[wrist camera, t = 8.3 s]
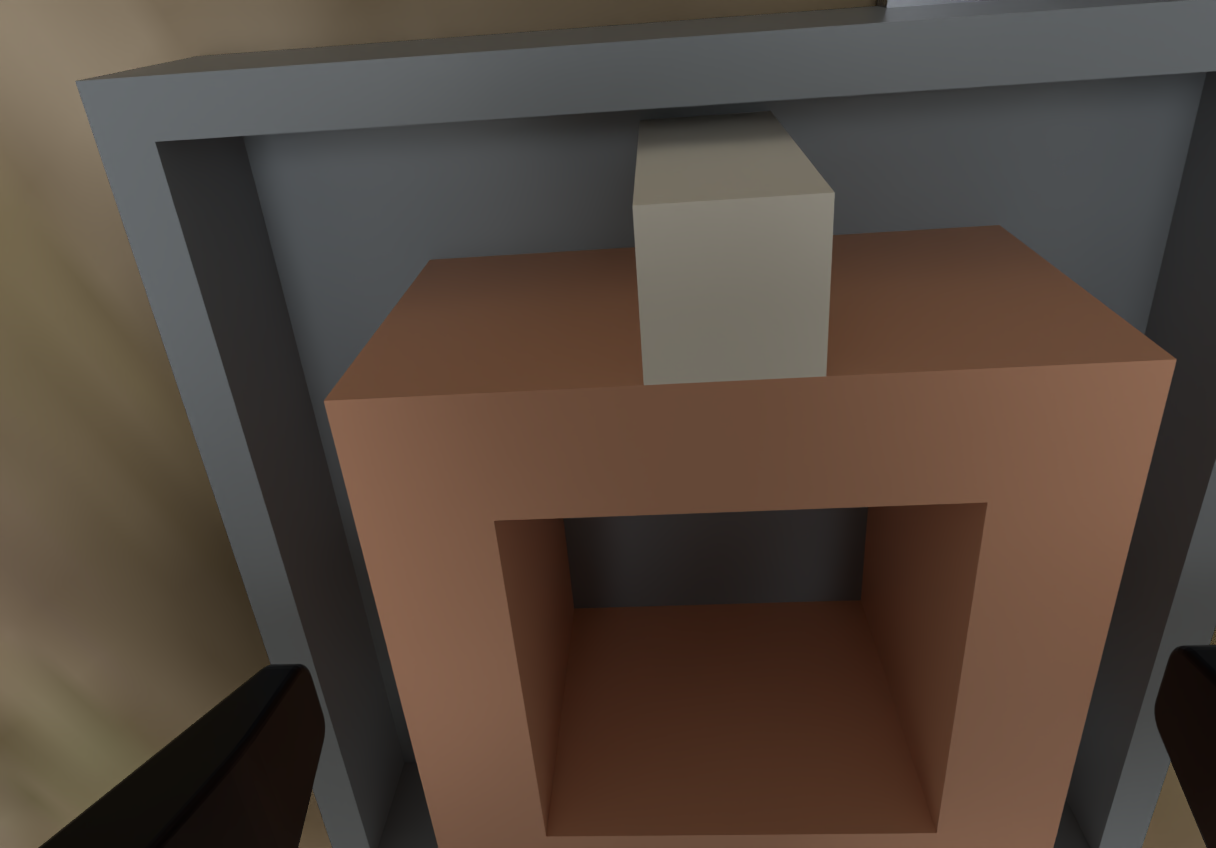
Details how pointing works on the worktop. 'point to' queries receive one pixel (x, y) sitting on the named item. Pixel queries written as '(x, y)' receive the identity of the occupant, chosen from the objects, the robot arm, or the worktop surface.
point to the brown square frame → (749, 481)
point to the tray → (603, 219)
